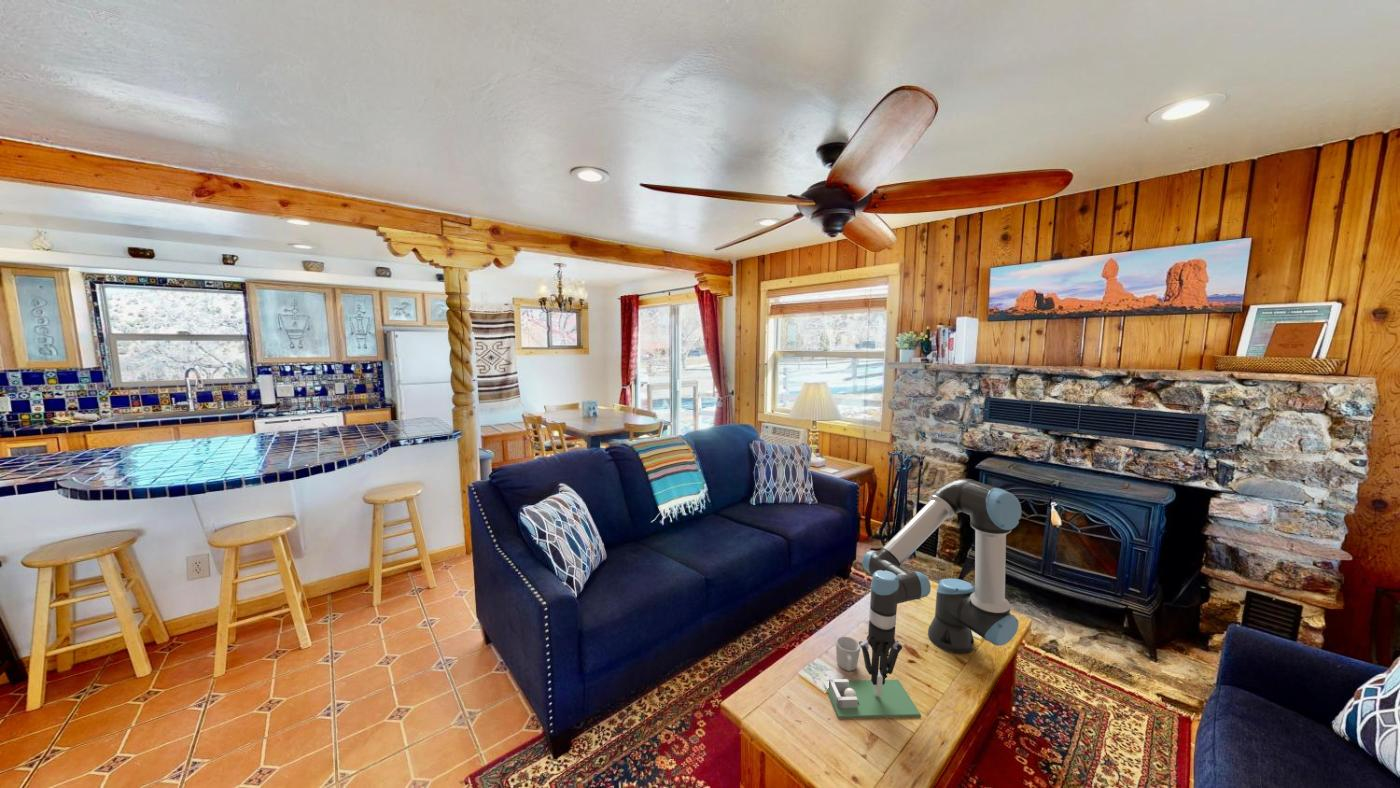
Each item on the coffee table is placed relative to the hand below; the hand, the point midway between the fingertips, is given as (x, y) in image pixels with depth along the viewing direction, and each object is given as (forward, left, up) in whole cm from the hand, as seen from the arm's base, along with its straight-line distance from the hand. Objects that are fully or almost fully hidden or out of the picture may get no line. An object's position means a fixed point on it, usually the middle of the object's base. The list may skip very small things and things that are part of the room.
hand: (877, 692), depth 143 cm
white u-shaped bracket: (+11, 0, -2) cm, 11 cm away
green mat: (+2, 0, -2) cm, 3 cm away
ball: (+9, 0, 0) cm, 9 cm away
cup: (+4, -13, -2) cm, 14 cm away
